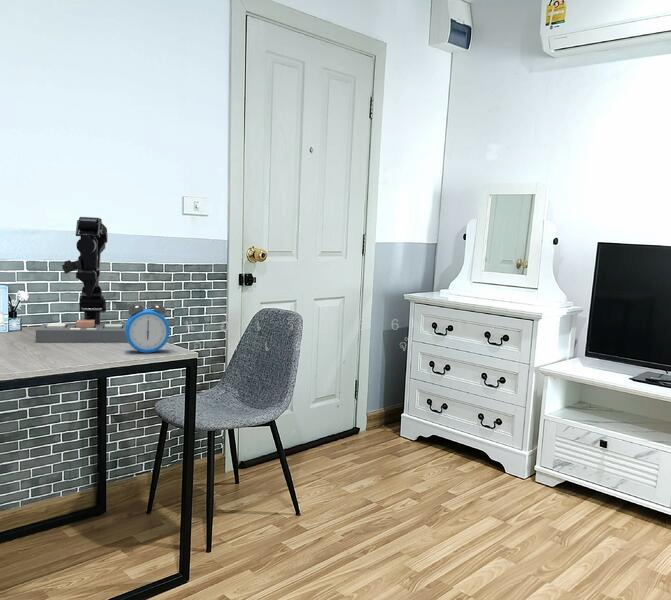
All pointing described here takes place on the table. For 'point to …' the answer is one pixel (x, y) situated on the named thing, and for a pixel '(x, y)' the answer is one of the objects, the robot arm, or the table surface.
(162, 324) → the alarm clock
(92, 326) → the terracotta key
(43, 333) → the console
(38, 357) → the table surface
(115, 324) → the sage key
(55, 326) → the cream key
